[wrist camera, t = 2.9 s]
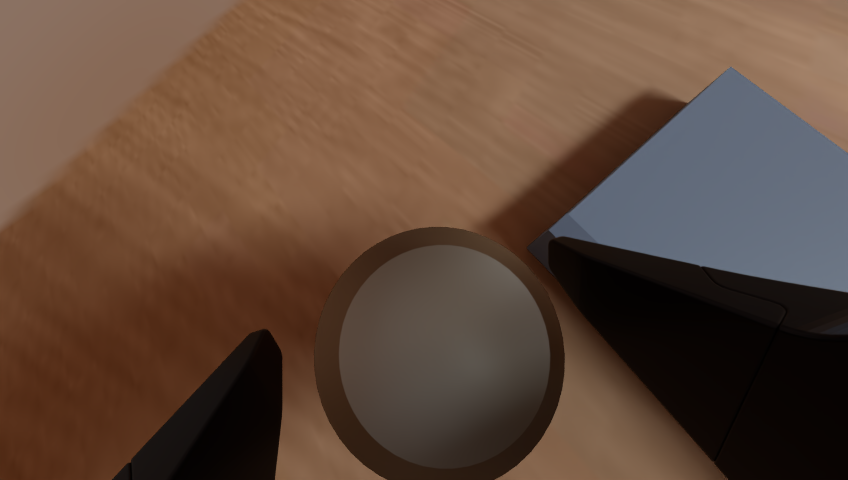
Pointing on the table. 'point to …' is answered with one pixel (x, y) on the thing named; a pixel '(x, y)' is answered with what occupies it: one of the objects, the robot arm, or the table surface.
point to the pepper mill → (439, 357)
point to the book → (726, 192)
